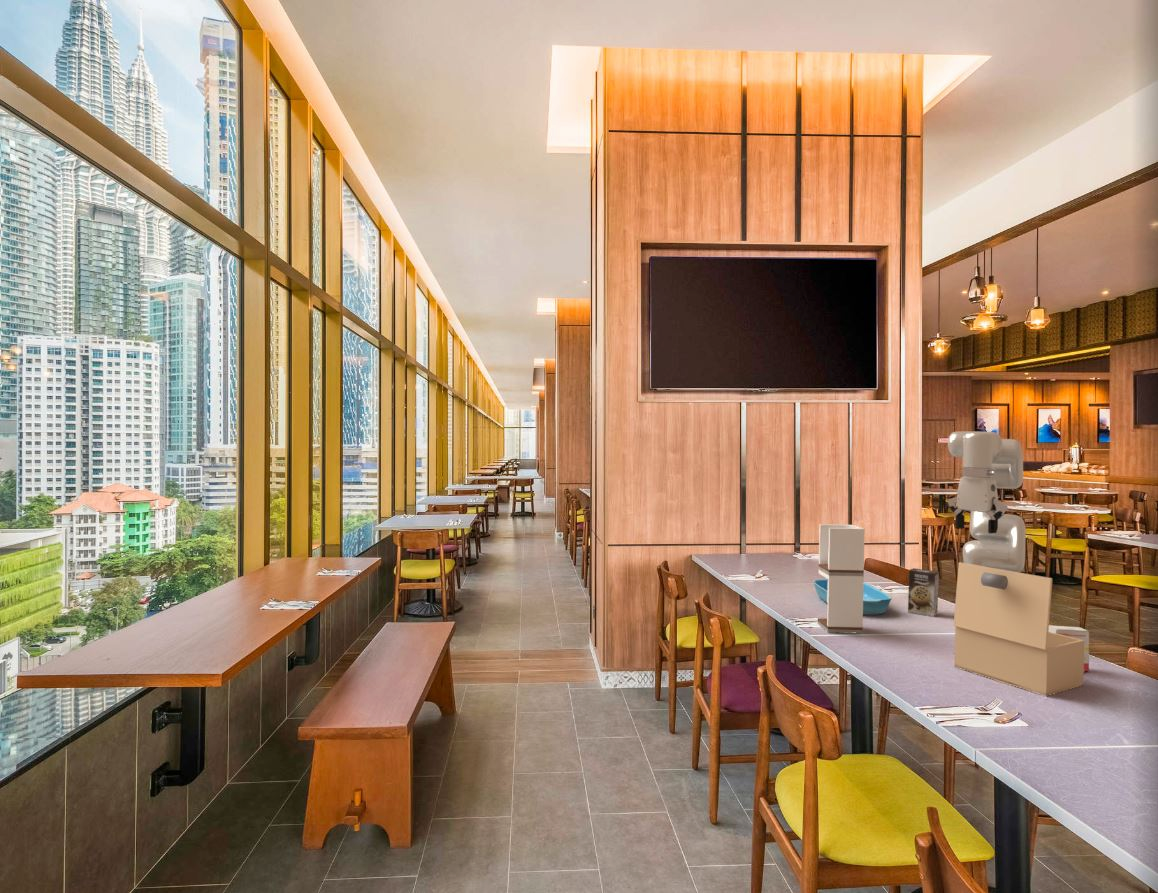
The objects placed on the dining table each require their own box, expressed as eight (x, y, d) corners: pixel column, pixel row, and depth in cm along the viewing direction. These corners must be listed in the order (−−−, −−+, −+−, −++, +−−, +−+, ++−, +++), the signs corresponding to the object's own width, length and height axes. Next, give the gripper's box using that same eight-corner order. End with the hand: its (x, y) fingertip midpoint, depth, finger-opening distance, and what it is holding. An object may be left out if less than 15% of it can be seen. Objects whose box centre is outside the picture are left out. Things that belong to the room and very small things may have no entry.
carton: (991, 658, 199) (992, 618, 199) (1083, 685, 178) (1084, 640, 178) (954, 667, 191) (955, 625, 190) (1045, 696, 169) (1047, 649, 169)
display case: (850, 624, 234) (852, 524, 233) (862, 633, 223) (864, 528, 223) (817, 624, 234) (819, 524, 234) (827, 632, 223) (830, 528, 223)
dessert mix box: (907, 612, 252) (908, 569, 251) (912, 609, 256) (912, 567, 256) (933, 617, 246) (934, 573, 245) (938, 613, 250) (939, 571, 250)
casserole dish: (901, 619, 243) (901, 599, 243) (839, 618, 244) (839, 598, 243) (859, 595, 280) (859, 578, 280) (806, 594, 280) (806, 577, 280)
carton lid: (960, 562, 191) (948, 561, 188) (1052, 578, 170) (1039, 578, 167) (955, 625, 190) (942, 625, 188) (1046, 649, 169) (1034, 650, 166)
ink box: (1079, 667, 193) (1080, 626, 192) (1089, 673, 188) (1090, 631, 188) (1046, 664, 194) (1047, 624, 194) (1055, 670, 189) (1056, 629, 189)
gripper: (1014, 475, 193) (1013, 534, 194) (956, 471, 209) (955, 526, 209) (999, 475, 190) (998, 535, 190) (941, 472, 205) (940, 527, 206)
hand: (975, 530), depth 200 cm, fingers open, 9 cm apart
